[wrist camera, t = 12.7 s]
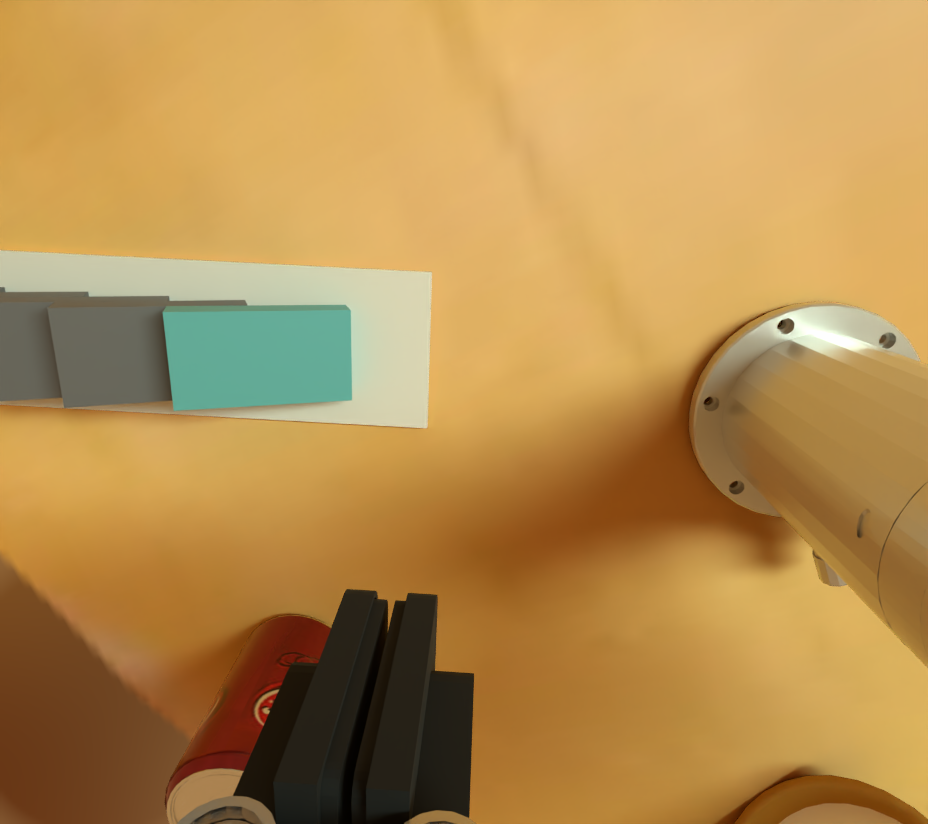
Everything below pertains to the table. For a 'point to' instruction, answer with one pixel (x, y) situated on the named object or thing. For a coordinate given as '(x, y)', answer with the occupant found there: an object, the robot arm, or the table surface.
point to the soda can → (241, 712)
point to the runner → (362, 290)
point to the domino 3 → (258, 355)
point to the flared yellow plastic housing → (828, 804)
